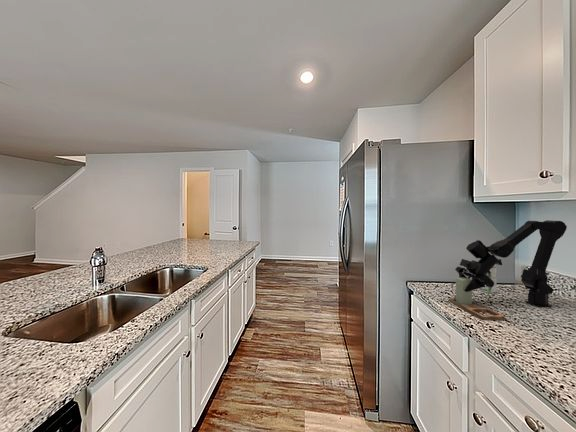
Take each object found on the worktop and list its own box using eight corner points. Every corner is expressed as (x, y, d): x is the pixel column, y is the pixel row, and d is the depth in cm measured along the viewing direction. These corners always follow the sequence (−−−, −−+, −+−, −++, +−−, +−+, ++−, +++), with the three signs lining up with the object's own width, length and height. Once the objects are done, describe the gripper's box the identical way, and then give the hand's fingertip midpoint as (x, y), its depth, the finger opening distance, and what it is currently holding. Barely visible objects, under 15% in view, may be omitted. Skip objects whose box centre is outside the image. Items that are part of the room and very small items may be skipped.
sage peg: (465, 302, 124) (465, 277, 124) (472, 306, 119) (471, 280, 119) (456, 302, 124) (455, 277, 124) (462, 306, 119) (462, 280, 119)
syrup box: (478, 290, 141) (478, 264, 141) (485, 289, 143) (485, 263, 143) (490, 293, 136) (490, 266, 136) (497, 292, 138) (496, 264, 138)
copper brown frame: (466, 300, 126) (466, 297, 126) (504, 319, 104) (504, 316, 104) (448, 301, 126) (448, 298, 126) (482, 320, 104) (482, 316, 104)
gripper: (458, 250, 131) (437, 272, 131) (487, 256, 112) (461, 283, 112) (474, 265, 131) (452, 288, 131) (505, 274, 112) (480, 300, 112)
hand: (460, 289), depth 121 cm, fingers open, 6 cm apart
